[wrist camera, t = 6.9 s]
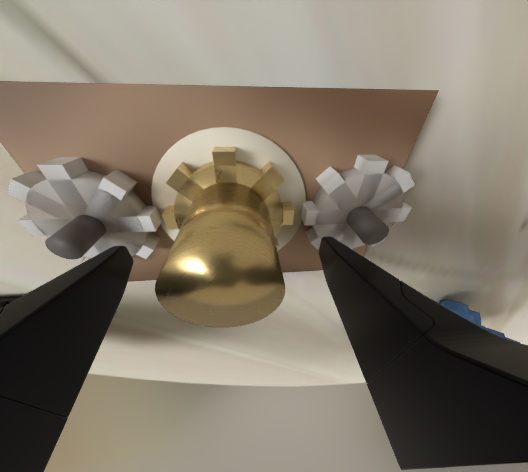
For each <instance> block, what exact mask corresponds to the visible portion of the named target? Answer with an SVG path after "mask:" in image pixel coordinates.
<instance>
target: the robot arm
mask: <svg viewBox="0 0 528 472" xmlns="http://www.w3.org/2000/svg"><path fill="white" fill-rule="evenodd" d="M319 256H320V260H321V264H322V268H323V271H324V275H325V279H326V282H327V285H328V287H329V290H330V292H331V295H332V297H333V300H334V302H335V305H336V307H337V310H338V312H339V315H340V317H341V320H342V322H343V325H344V328H345V330H346V333H347V335H348V338H349V340H350V343H351V345H352V348H353V350H354V353H355V355H356V358H357V360H358V363H359V365H360V368H361V370H362V373H363V375H364V378H365V380H366V383H368V384H367V386H368V388H369V391H370V393H371V396H372V398H373V401H374V403H375V406H376V408H377V411H378V414H379V416H380V419H381V421H382V424H383V426H384V429H385V431H386V434H387V436H388V439H389V441H390V444H391V446H392V449H393V451H394V454H395V456H396V459H397V461H398V464H399V466H400V468H401V470H408V469H427V468H444V467H446V468H447V470H448V472H528V345H524V344H520V343H517V342H513V341H510V340H507V339H505V338H502V337H499V336H497V335H495V334H493V333H490V332H489V331H487V330H485V329H483V328H481V327H479V326H478V325H476V324H474V323H472V322H470V321H469V320H467V319H465V318H463V317H461V316H460V315H458V314H456V313H454V312H453V311H451V310H449V309H447V308H445V307H444V306H442V305H440V304H438V303H437V302H435V301H433V300H431V299H430V298H428V297H426V296H425V295H423V294H421V293H420V292H418V291H416V290H415V289H413V288H412V287H410V286H408V285H407V284H405V283H404V282H402V281H399V279H397V278H396V277H394V276H393V275H391V274H389V273H388V272H386V271H385V270H383V269H382V268H380V267H379V266H377V265H375V264H374V263H372V262H371V261H369V260H368V259H366V258H364V257H363V256H361V255H360V254H358V253H357V252H355V251H353V250H352V249H350V248H349V247H347V246H346V245H344V244H342V243H341V242H339V241H338V240H336V239H335V238H333V237H331V236H326V237H322V239H321V243H320V247H319ZM132 266H133V258H132V256H131V254H130V253H129V251H128V249H127V248H126V247H125V246H113V247H111V248H109V249H107V250H105V251H104V252H102V253H100V254H98V255H96V256H94V257H93V258H91V259H89V260H87V261H85V262H84V263H82V264H80V265H78V266H76V267H75V268H73V269H71V270H69V271H67V272H65V273H64V274H62V275H60V276H58V277H56V278H55V279H53V280H51V281H49V282H47V283H45V284H44V285H42V286H40V287H38V288H36V289H35V290H33V291H31V292H29V293H27V294H26V295H24V296H22V297H18V298H2V299H0V472H44V470H45V468H46V465H47V463H48V461H49V459H50V457H51V454H52V452H53V450H54V447H55V445H56V443H57V441H58V439H59V437H60V434H61V432H62V430H63V428H64V425H65V423H66V421H67V419H68V416H69V414H70V412H71V410H72V407H73V405H74V403H75V401H76V398H77V396H78V394H79V392H80V390H81V387H82V385H83V383H84V381H85V379H86V376H87V374H88V372H89V370H90V368H91V365H92V363H93V361H94V359H95V356H96V354H97V352H98V350H99V348H100V345H101V343H102V341H103V339H104V336H105V334H106V332H107V330H108V328H109V325H110V323H111V321H112V319H113V317H114V314H115V312H116V310H117V308H118V305H119V303H120V301H121V299H122V296H123V294H124V291H125V288H126V285H127V282H128V279H129V276H130V273H131V269H132Z"/></svg>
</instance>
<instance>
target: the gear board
mask: <svg viewBox="0 0 528 472" xmlns="http://www.w3.org/2000/svg"><path fill="white" fill-rule="evenodd" d="M437 93H438V90H391V89H344V88H297V87H249V86H202V85H155V84H108V83H60V82H13V81H0V142H1V143H2V145H3V146H4V147H5V149H6V150H7V151H8V153H9V154H10V155H11V156H12V158H13V159H14V160H15V162H16V163H17V164H18V165H19V167H20V168H21V169H22V171H23V172H24V173H25V174H23V175H21V176H18V177H15V178H13V179H11V182H10V186H9V189H8V192H7V194H8V195H10V196H12V197H14V198H16V199H18V200H20V201H23V202H25V203H26V209H27V212H28V215H26V216H24V217H22V218H21V219H19V220H17V221H18V222H19V223H20V224H21V225H22V226H23V227H24V228H25V229H26V230H27V231H28V232H29V233H30V234H31V236H46V237H48V239H47V240H46V242H45V243H46V246H47V248H48V249H49V250H50V251H51V252H53V253H54V254H56V255H58V256H60V257H63V258H66V259H73V260H76V261H78V262H82V261H83V260H84V259H85V258H86V257H87V258H90V259H91V258H93V257H94V256H96V255H98V254H100V253H102V252H104V251H105V250H107V249H109V248H111V247H113V246H125V247H126V248H127V249H128V251H129V253H130V254H131V256H132V258H133V266H132V269H131V273H130V276H129V279H128V281H145V280H157V278H158V276H159V274H160V271H161V269H162V267H163V265H164V263H165V261H166V258H167V256H168V254H169V252H170V250H171V248H172V245H173V243H174V241H175V239H176V237H177V235H178V232H179V229H170V230H167V227H166V225H165V222H164V219H163V216H162V213H163V212H164V210H165V209H166V207H167V206H168V205H174V203H175V199H176V195H177V193H178V192H177V191H176V190H174V189H173V188H171V187H170V186H169V185H167V184H166V182H167V181H168V180H169V178H170V177H171V176H172V174H173V173H174V171H175V170H176V169H177V168H178V166H179V165H180V164H181V163H182V162H183V163H184V164H186V165H187V166H188V167H189V168H191V169H192V170H193V171H194V170H196V169H197V168H198V167H200V166H202V165H204V164H206V163H209V162H212V161H213V156H212V151H213V149H214V147H235V149H236V160H238V161H242V162H245V163H248V164H251V165H253V166H255V167H257V168H258V169H260V170H261V169H262V168H263V167H264V166H265V165H266V164H267V163H268V162H269V161H270V162H271V164H272V165H273V166H274V167H275V168H276V169H277V170H278V171H279V172H280V173H281V174H282V176H283V178H284V182H283V183H282V184H281V185H280V186H279V187H278V188H277V191H278V193H279V196H280V199H281V202H291V203H292V205H293V208H294V210H295V211H294V218H293V225H282V226H281V229H280V231H279V233H278V235H277V240H278V244H279V247H278V248H277V251H278V256H279V260H280V265H281V269H282V272H299V271H316V270H323V268H322V264H321V260H320V256H319V247H320V243H321V239H322V237H326V236H331V237H333V238H335V239H336V240H338V241H339V242H341V243H342V244H344V245H346V246H347V247H349V248H350V249H352V250H353V251H355V252H357V253H358V254H360V255H361V256H362V255H363V253H364V251H365V249H366V247H367V245H370V246H371V247H372V248H373V247H375V246H376V245H378V244H380V243H381V242H383V241H385V240H386V239H385V237H386V236H387V234H388V232H389V228H390V227H391V226H392V225H393V223H394V222H404V221H405V219H406V218H407V216H408V214H409V212H410V211H411V209H412V207H411V206H409V205H408V204H406V203H405V202H403V201H404V195H403V193H404V192H406V191H407V190H409V189H410V188H412V187H413V186H415V184H414V182H413V179H412V177H411V175H410V173H409V172H408V171H405V170H403V167H404V165H405V163H406V160H407V158H408V156H409V154H410V152H411V150H412V147H413V145H414V143H415V141H416V139H417V137H418V134H419V132H420V130H421V128H422V126H423V124H424V122H425V119H426V117H427V115H428V113H429V111H430V109H431V106H432V104H433V102H434V100H435V98H436V96H437Z"/></svg>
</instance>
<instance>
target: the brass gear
mask: <svg viewBox="0 0 528 472" xmlns="http://www.w3.org/2000/svg"><path fill="white" fill-rule="evenodd" d="M212 156H213V161H212V162H209V163H206V164H204V165H202V166H200V167H198V168H197V169H196V170H194V171H193V170H192V169H191V168H189V167H188V166H187V165H186V164H184V163H183V162H182V163H181V164H180V165H179V166H178V168H177V169H176V170H175V171H174V173H173V174H172V176H171V177H170V178H169V180H168V181H167V182H166V184H167V185H169V186H170V187H171V188H173V189H174V190H176V191H177V192H178V193H177V195H176V199H175V203H174V205H168V206H167V207H166V209H165V210H164V212H163V213H162V216H163V219H164V222H165V225H166V227H167V230H170V229H179V232H178V235H177V237H176V239H175V241H174V243H173V245H172V248H171V250H170V252H169V254H168V256H167V258H166V261H165V263H164V265H163V267H162V269H161V271H160V274H159V276H158V278H157V281H156V284H155V292H156V296H157V298H158V301H159V302H160V304H161V305H162V306H163V307H164V308H165V309H166V310H167V311H168V312H169V313H171V314H172V315H174V316H175V317H177V318H179V319H181V320H184V321H186V322H189V323H192V324H196V325H200V326H206V327H219V328H224V327H236V326H242V325H246V324H250V323H253V322H256V321H258V320H260V319H262V318H264V317H266V316H268V315H269V314H271V313H272V312H273V311H274V310H276V308H277V307H278V306H279V305H280V304H281V302H282V300H283V298H284V295H285V283H284V279H283V274H282V269H281V265H280V260H279V256H278V251H277V248H278V247H279V244H278V240H277V235H278V233H279V231H280V229H281V226H282V225H293V218H294V211H295V210H294V208H293V205H292V203H291V202H281V199H280V196H279V193H278V191H277V188H278V187H279V186H280V185H281V184H282V183H283V182H284V178H283V176H282V174H281V173H280V172H279V171H278V170H277V169H276V168H275V167H274V166H273V165H272V164H271V162H270V161H269V162H268V163H267V164H266V165H265V166H264V167H263V168H262V169H261V170H260V169H258V168H257V167H255V166H253V165H251V164H248V163H245V162H242V161H238V160H236V149H235V147H214V149H213V151H212Z"/></svg>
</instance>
